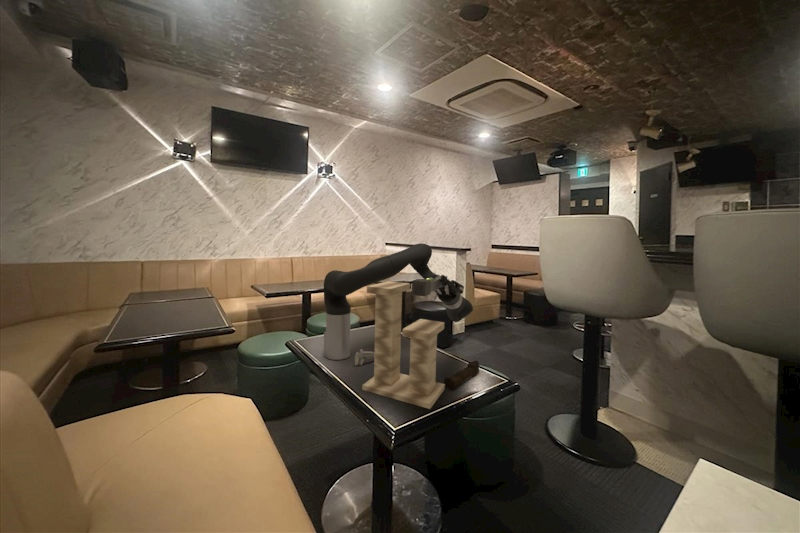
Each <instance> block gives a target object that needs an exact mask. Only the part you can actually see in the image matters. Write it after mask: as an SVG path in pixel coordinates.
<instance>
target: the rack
mask: <svg viewBox="0 0 800 533" xmlns="http://www.w3.org/2000/svg"><path fill="white" fill-rule="evenodd" d="M410 287H411V284H410V283H408V282H398V281H387V280H386V281H384V282H380V283H373V284H370V285H367V286H366V294H371V295H375V303H374V304H375V311H374V312H375V313H374V352H373V353H374V357H373V359H374V360H373V361H374V362H373V365H374V366H373V368H374V369H373V377H371V378H370V379H369V380H367V381H366V382H364V383H363V384H362V386H361V388H362V389H361V390H362V391H365V392H369V393H372V394H376V395H379V396H382V397H386V398H390V399H393V400H397V401H399V402H404V403H408V404H410V405H414V406H417V407H421V408H425V409H429V410H431V409H432V407H433V406H434V404H436V403H437V402H436V401H438V399H439V398H440V396H441V395H442V393H443V392H444V391H445V389H446V387H445V384H444V383H441V382H437V381H436V377H437V376H436V374H437V373H436V372H437V371H436V370H437V350H438V349H437V346H438V334H439V333H441V332H442V331H443V330H444V329H445V321H438V320H433V319H432V320H431V319H424V318H419V319H417V320H415V321H414V322H412V323H411V324H409V325H407V326H406V327H404V328H402V310H403V309H402V308H403V302H402V301H403V292H407V291H409V290H410V289H411V288H410ZM402 337H405V338H410V340H409V342H410V344H409V346H410V347H409V371H408V372H409V374H404V373H402V372H401V355H400V354H401V346H402V345H401V344H402V342H401V341H402Z"/></svg>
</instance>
